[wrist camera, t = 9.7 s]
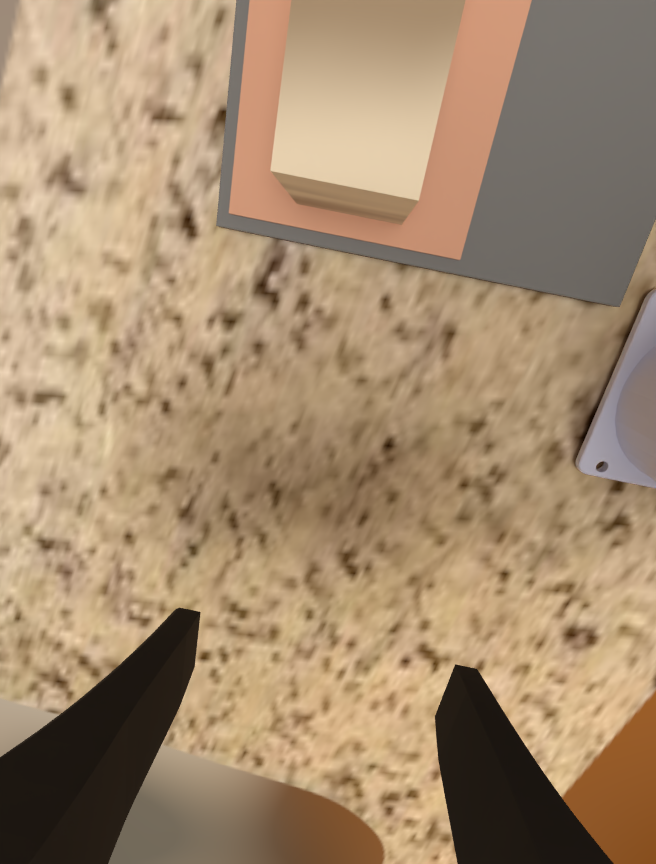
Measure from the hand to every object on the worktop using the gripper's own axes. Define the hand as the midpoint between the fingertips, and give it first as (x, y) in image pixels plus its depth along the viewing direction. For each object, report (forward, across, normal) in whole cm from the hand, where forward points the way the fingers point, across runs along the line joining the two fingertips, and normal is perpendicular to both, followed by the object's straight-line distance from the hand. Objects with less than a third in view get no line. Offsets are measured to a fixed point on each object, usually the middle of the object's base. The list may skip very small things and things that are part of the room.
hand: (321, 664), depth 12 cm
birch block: (+9, +2, -16) cm, 18 cm away
